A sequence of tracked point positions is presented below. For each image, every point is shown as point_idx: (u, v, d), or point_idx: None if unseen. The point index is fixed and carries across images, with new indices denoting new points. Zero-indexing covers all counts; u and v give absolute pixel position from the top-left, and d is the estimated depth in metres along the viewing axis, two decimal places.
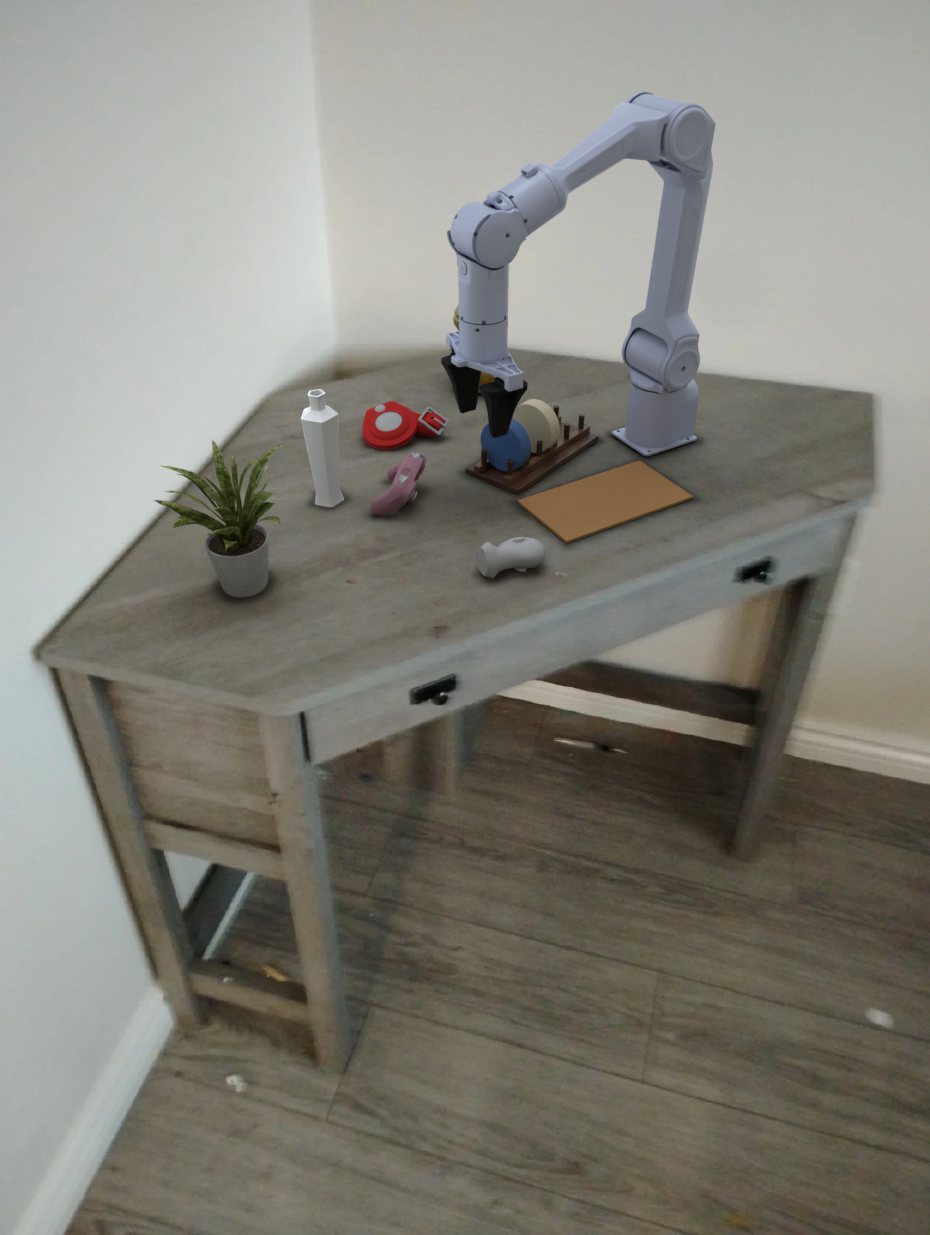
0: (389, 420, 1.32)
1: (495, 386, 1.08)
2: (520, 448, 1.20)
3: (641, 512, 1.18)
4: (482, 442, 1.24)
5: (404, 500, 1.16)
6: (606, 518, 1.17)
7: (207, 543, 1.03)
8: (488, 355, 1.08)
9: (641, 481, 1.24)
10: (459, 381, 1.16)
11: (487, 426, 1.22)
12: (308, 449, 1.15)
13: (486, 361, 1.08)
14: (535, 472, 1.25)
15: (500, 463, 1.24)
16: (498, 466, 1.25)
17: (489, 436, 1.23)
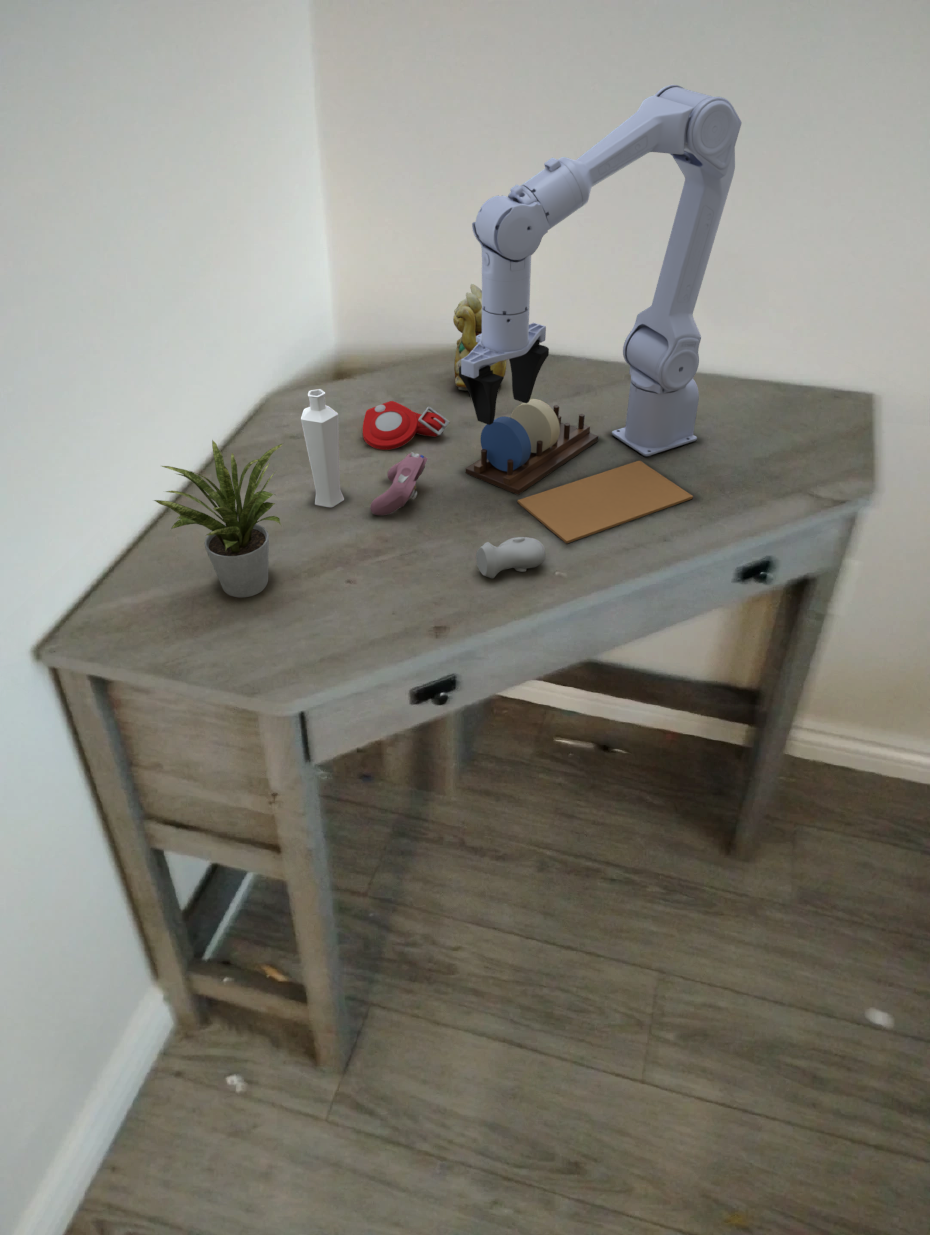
0: (389, 420, 1.32)
1: None
2: (520, 448, 1.20)
3: (641, 512, 1.18)
4: (482, 442, 1.24)
5: (404, 500, 1.16)
6: (606, 518, 1.17)
7: (207, 543, 1.03)
8: (485, 340, 1.12)
9: (641, 481, 1.24)
10: (514, 367, 1.20)
11: (487, 426, 1.22)
12: (308, 449, 1.15)
13: (484, 345, 1.13)
14: (535, 472, 1.25)
15: (500, 463, 1.24)
16: (498, 466, 1.25)
17: (489, 436, 1.23)
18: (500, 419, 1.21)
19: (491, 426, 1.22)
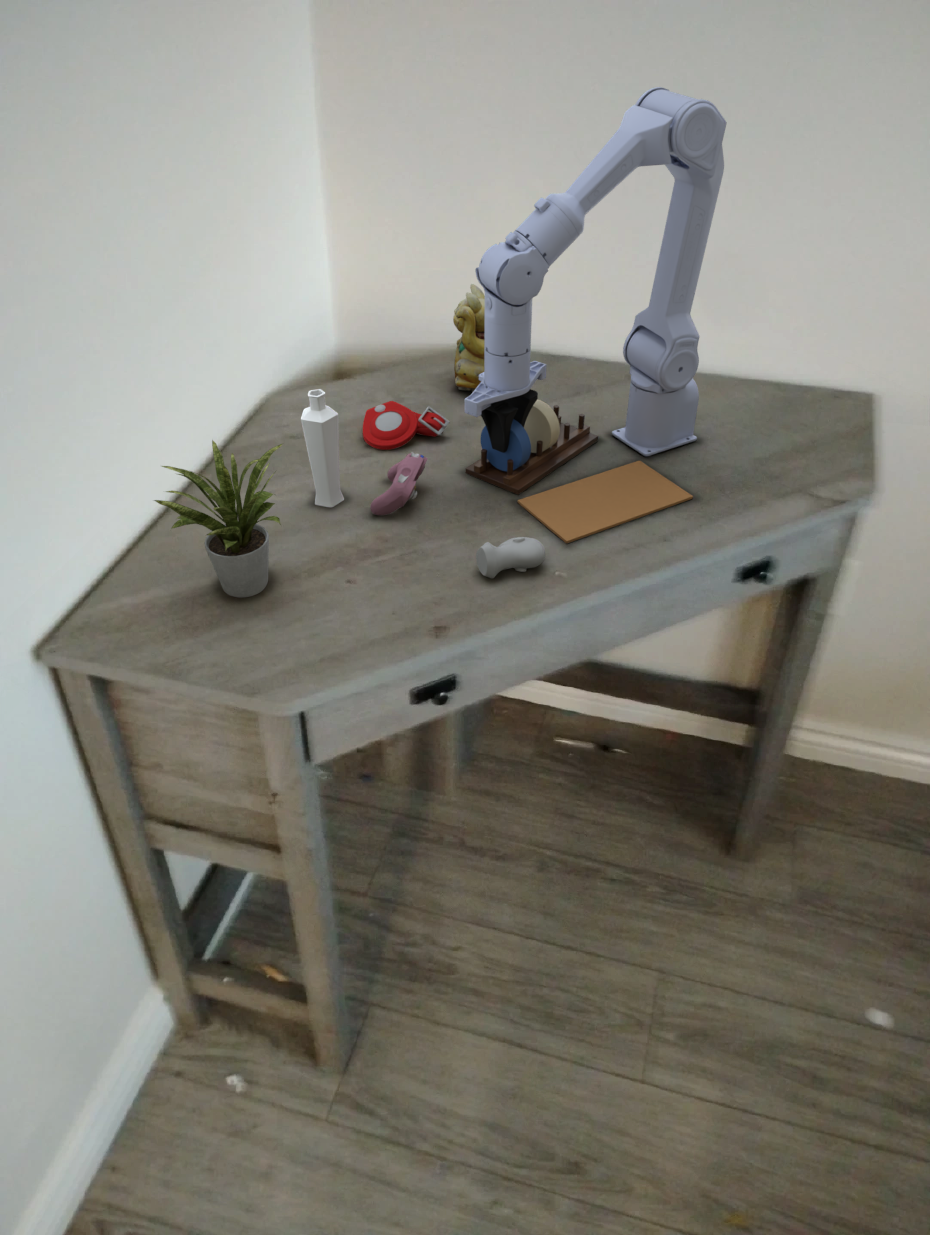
0: (389, 420, 1.32)
1: None
2: (520, 448, 1.20)
3: (641, 512, 1.18)
4: (482, 442, 1.24)
5: (404, 500, 1.16)
6: (606, 518, 1.17)
7: (207, 543, 1.03)
8: (488, 380, 1.16)
9: (641, 481, 1.24)
10: None
11: None
12: (308, 449, 1.15)
13: (486, 384, 1.17)
14: (535, 472, 1.25)
15: (500, 463, 1.24)
16: (498, 466, 1.25)
17: None
18: None
19: None
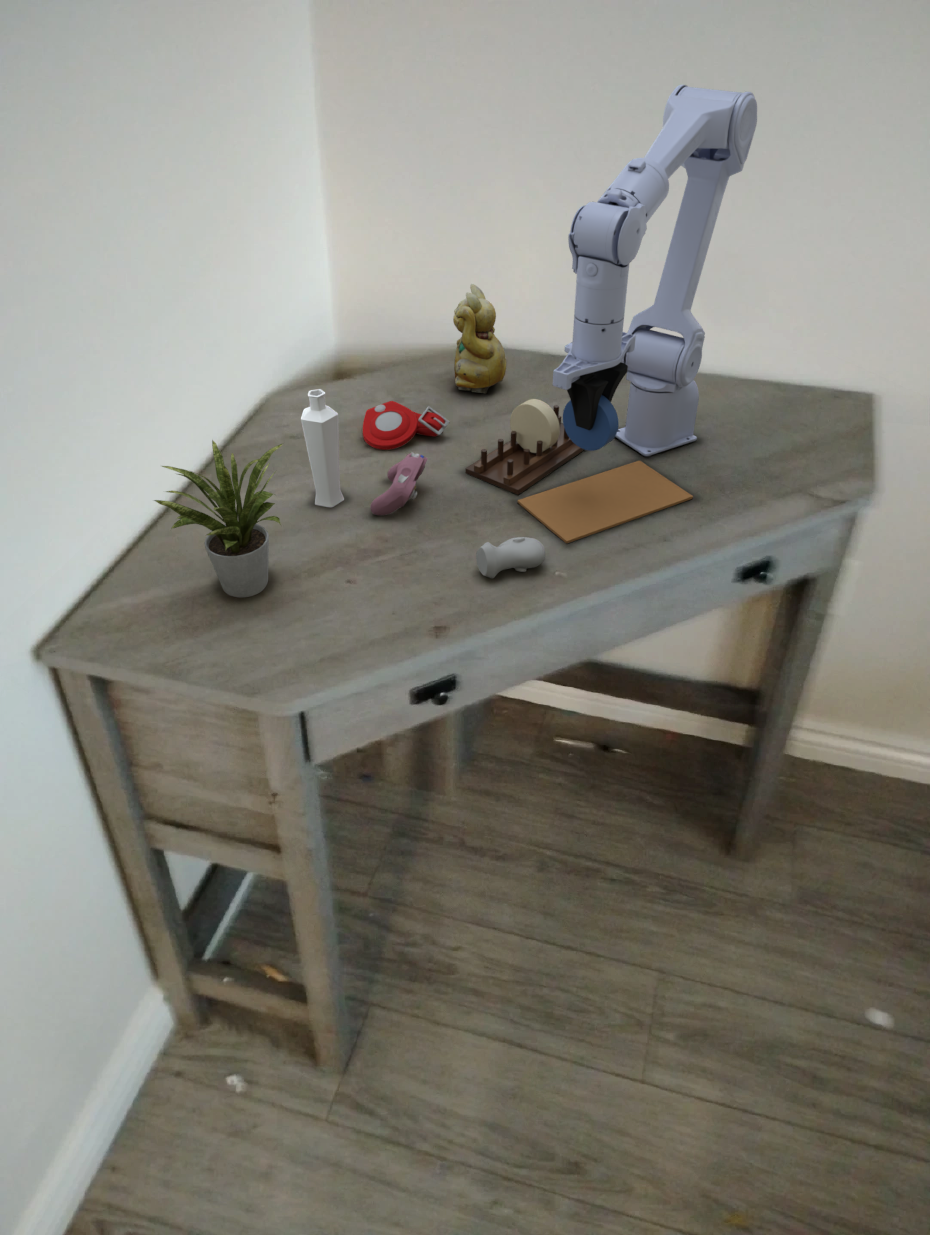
0: (389, 420, 1.32)
1: None
2: (608, 425, 1.12)
3: (641, 512, 1.18)
4: (564, 419, 1.16)
5: (404, 500, 1.16)
6: (606, 518, 1.17)
7: (207, 543, 1.03)
8: (577, 351, 1.08)
9: (641, 481, 1.24)
10: None
11: None
12: (308, 449, 1.15)
13: (575, 356, 1.09)
14: (535, 472, 1.25)
15: (583, 441, 1.16)
16: (581, 445, 1.17)
17: (573, 412, 1.15)
18: None
19: None
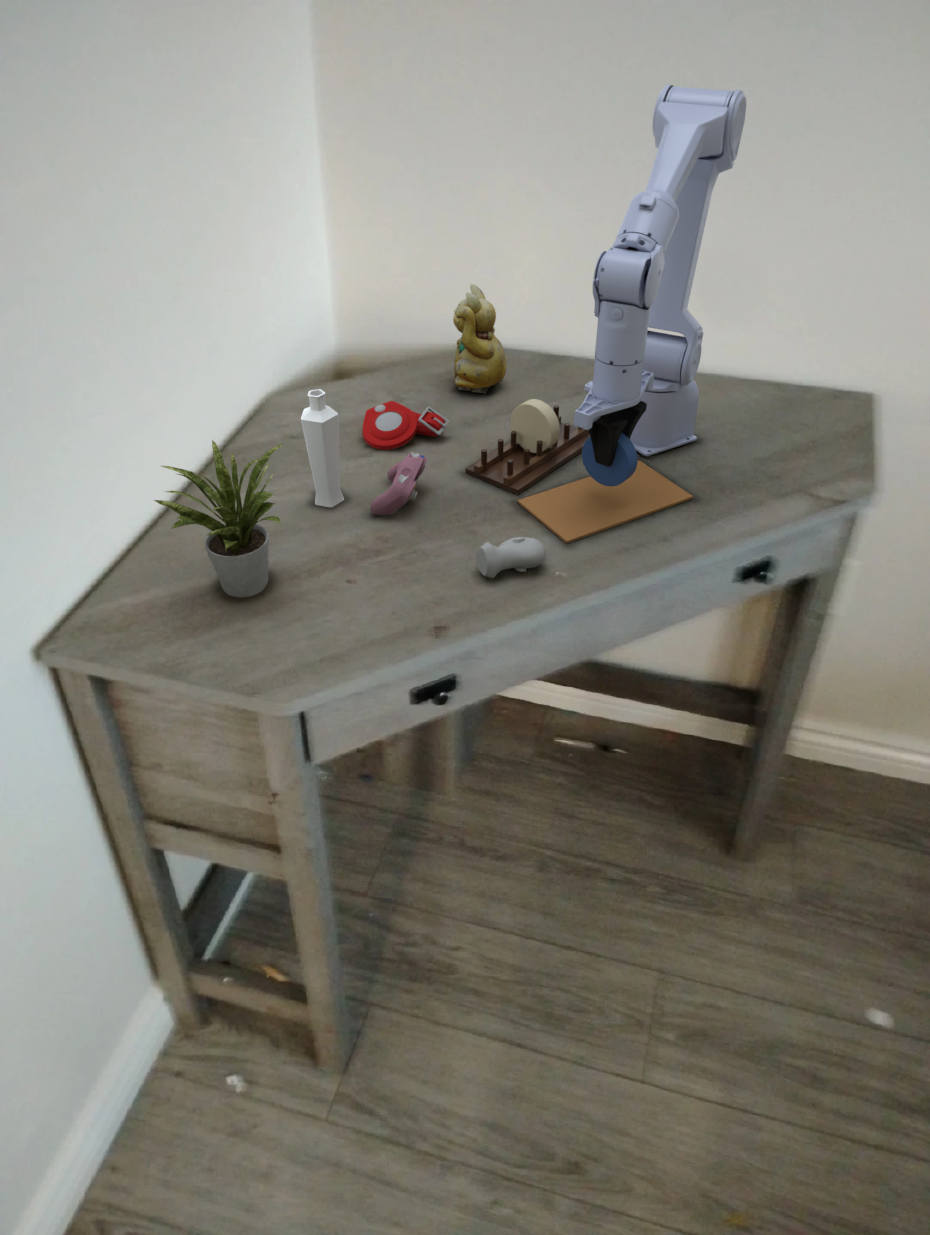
0: (389, 420, 1.32)
1: None
2: (627, 462, 1.14)
3: (641, 512, 1.18)
4: (584, 455, 1.18)
5: (404, 500, 1.16)
6: (606, 518, 1.17)
7: (207, 543, 1.03)
8: (597, 390, 1.10)
9: (641, 481, 1.24)
10: None
11: None
12: (308, 449, 1.15)
13: (595, 395, 1.10)
14: (535, 472, 1.25)
15: (603, 477, 1.18)
16: (600, 481, 1.18)
17: (592, 449, 1.17)
18: None
19: None
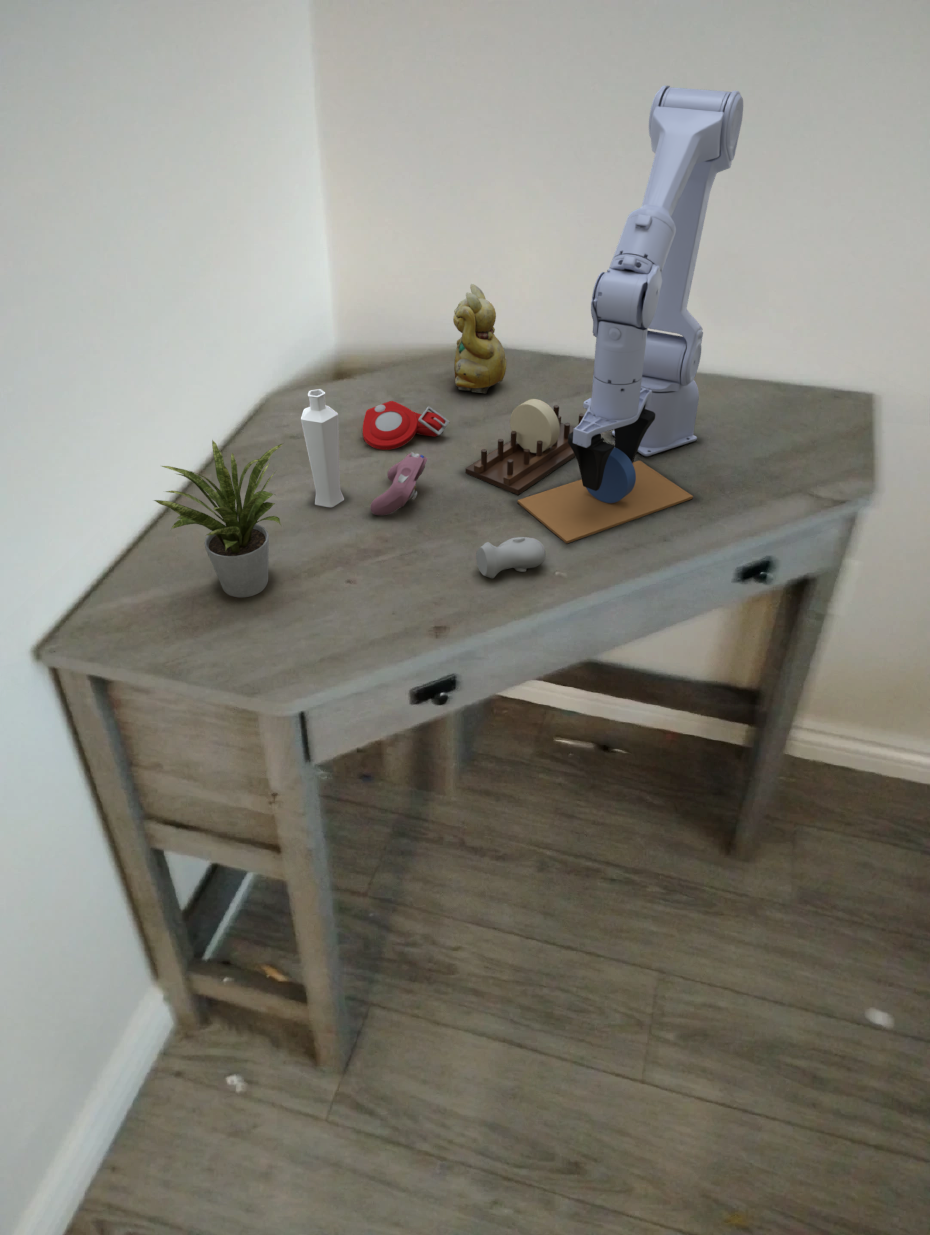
0: (389, 421, 1.32)
1: None
2: (626, 480, 1.16)
3: (641, 512, 1.18)
4: None
5: (404, 500, 1.16)
6: (606, 518, 1.17)
7: (207, 543, 1.03)
8: (596, 408, 1.11)
9: (641, 481, 1.24)
10: (618, 431, 1.18)
11: None
12: (308, 449, 1.15)
13: (594, 413, 1.12)
14: (535, 472, 1.25)
15: (601, 494, 1.19)
16: (599, 497, 1.20)
17: None
18: None
19: None
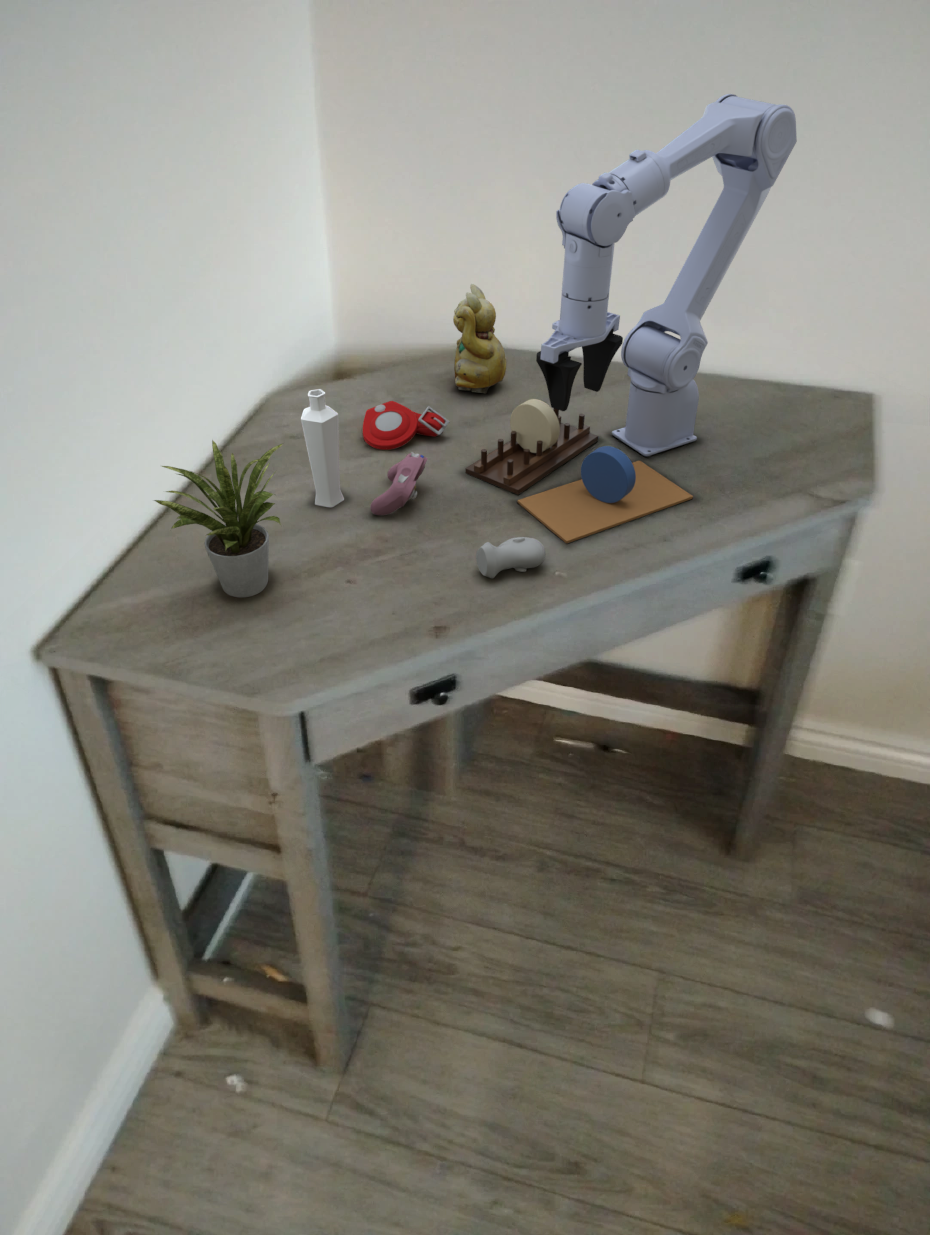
0: (389, 420, 1.32)
1: None
2: (625, 480, 1.16)
3: (641, 512, 1.18)
4: (582, 472, 1.19)
5: (404, 500, 1.16)
6: (606, 518, 1.17)
7: (207, 543, 1.03)
8: (564, 327, 1.13)
9: (641, 481, 1.24)
10: (587, 355, 1.21)
11: (589, 456, 1.17)
12: (308, 449, 1.15)
13: (562, 332, 1.14)
14: (535, 472, 1.25)
15: (601, 494, 1.19)
16: (599, 497, 1.20)
17: (591, 466, 1.18)
18: (604, 449, 1.16)
19: (594, 456, 1.17)
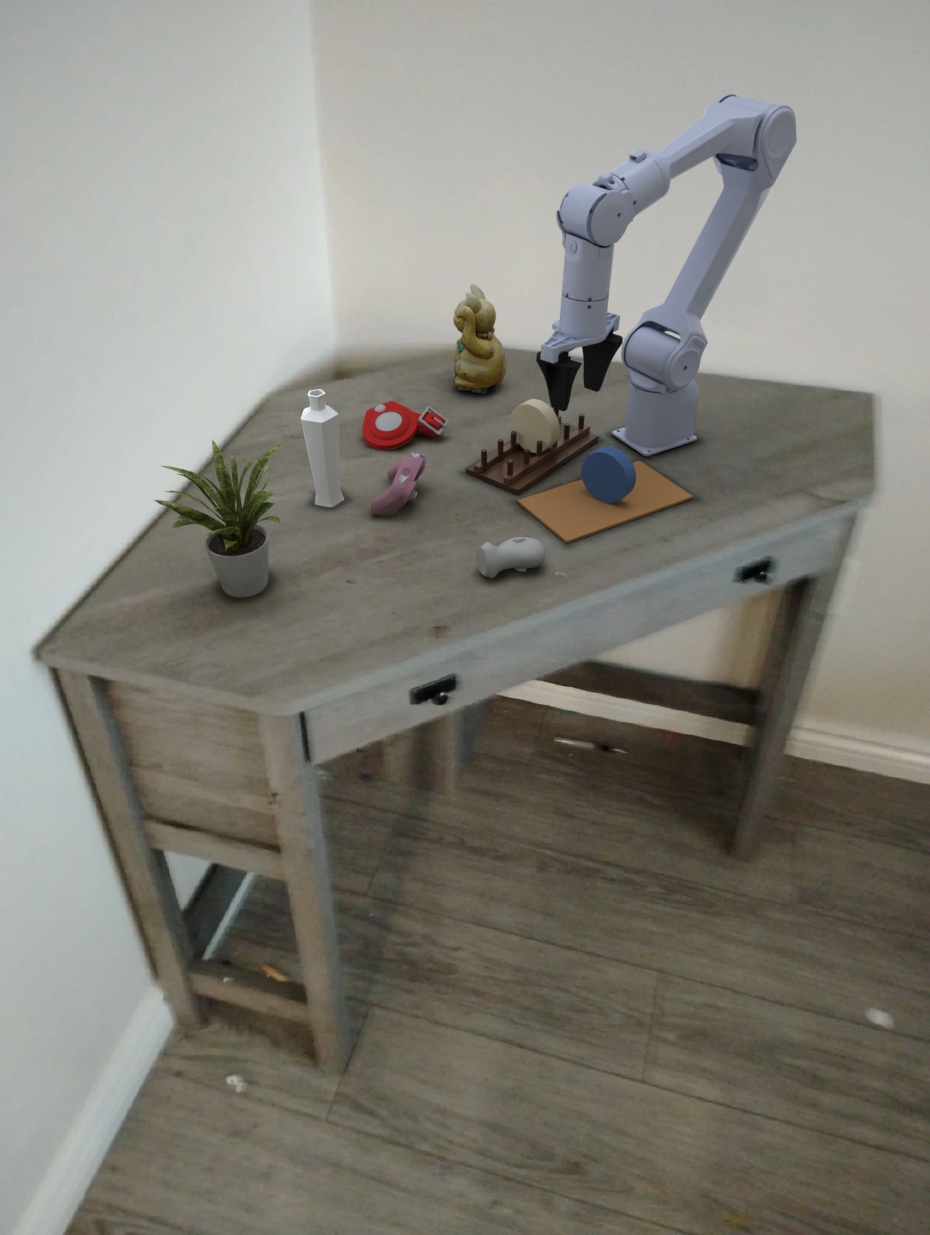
0: (389, 420, 1.32)
1: None
2: (626, 480, 1.16)
3: (641, 512, 1.18)
4: (583, 472, 1.19)
5: (404, 500, 1.16)
6: (606, 518, 1.17)
7: (207, 543, 1.03)
8: (564, 327, 1.13)
9: (641, 481, 1.24)
10: (587, 355, 1.21)
11: (590, 456, 1.17)
12: (308, 449, 1.15)
13: (562, 332, 1.14)
14: (535, 472, 1.25)
15: (601, 494, 1.19)
16: (599, 497, 1.20)
17: (591, 466, 1.18)
18: (605, 449, 1.16)
19: (595, 456, 1.17)
